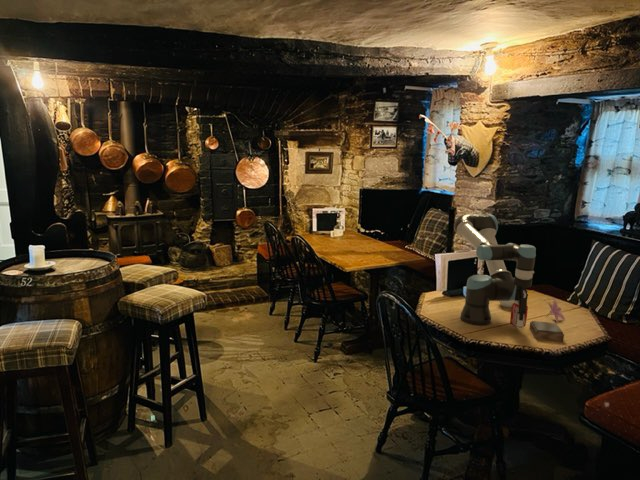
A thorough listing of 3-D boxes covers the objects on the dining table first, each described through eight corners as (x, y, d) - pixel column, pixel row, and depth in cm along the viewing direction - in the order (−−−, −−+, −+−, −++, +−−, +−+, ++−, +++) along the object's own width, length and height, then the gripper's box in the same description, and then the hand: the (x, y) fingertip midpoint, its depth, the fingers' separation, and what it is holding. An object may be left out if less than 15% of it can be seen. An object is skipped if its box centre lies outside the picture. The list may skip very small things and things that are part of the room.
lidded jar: (499, 301, 255) (501, 285, 253) (519, 305, 249) (521, 289, 247) (494, 306, 247) (496, 290, 245) (514, 310, 241) (516, 294, 239)
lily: (543, 324, 225) (555, 311, 220) (533, 308, 235) (545, 295, 230) (562, 329, 228) (574, 317, 223) (551, 313, 238) (563, 301, 233)
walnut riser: (535, 338, 205) (536, 329, 204) (529, 328, 216) (530, 320, 216) (563, 341, 202) (564, 332, 201) (555, 331, 214) (556, 322, 213)
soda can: (527, 329, 207) (530, 305, 204) (511, 328, 208) (514, 304, 206) (523, 323, 214) (526, 300, 211) (508, 322, 215) (510, 299, 212)
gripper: (537, 284, 195) (531, 332, 200) (527, 272, 214) (521, 315, 219) (519, 283, 197) (513, 330, 202) (511, 270, 216) (506, 314, 221)
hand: (517, 322), depth 211 cm, fingers closed on soda can, 7 cm apart
